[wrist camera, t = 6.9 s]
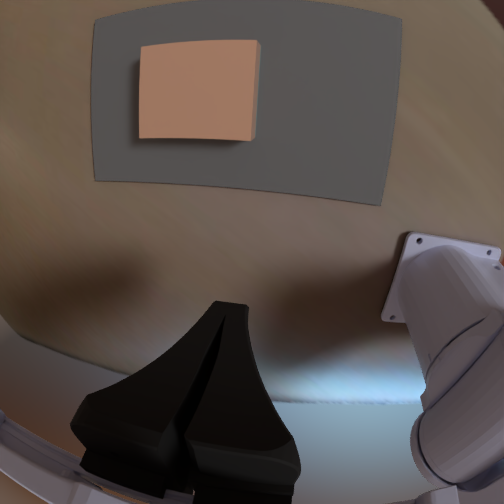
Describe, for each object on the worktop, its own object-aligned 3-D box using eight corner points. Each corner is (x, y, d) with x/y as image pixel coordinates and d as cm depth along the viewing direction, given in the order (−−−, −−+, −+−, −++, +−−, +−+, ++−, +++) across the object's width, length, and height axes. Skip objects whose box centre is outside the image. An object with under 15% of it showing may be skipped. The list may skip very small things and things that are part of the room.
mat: (400, 19, 13) (401, 19, 13) (379, 204, 19) (380, 205, 19) (97, 20, 15) (95, 19, 15) (97, 179, 21) (95, 180, 21)
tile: (256, 39, 14) (141, 46, 14) (250, 141, 17) (139, 138, 17) (261, 46, 15) (155, 50, 16) (255, 137, 18) (152, 134, 19)
